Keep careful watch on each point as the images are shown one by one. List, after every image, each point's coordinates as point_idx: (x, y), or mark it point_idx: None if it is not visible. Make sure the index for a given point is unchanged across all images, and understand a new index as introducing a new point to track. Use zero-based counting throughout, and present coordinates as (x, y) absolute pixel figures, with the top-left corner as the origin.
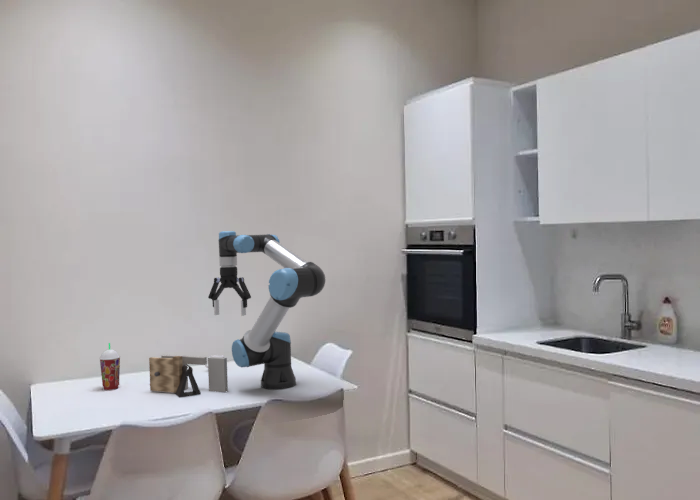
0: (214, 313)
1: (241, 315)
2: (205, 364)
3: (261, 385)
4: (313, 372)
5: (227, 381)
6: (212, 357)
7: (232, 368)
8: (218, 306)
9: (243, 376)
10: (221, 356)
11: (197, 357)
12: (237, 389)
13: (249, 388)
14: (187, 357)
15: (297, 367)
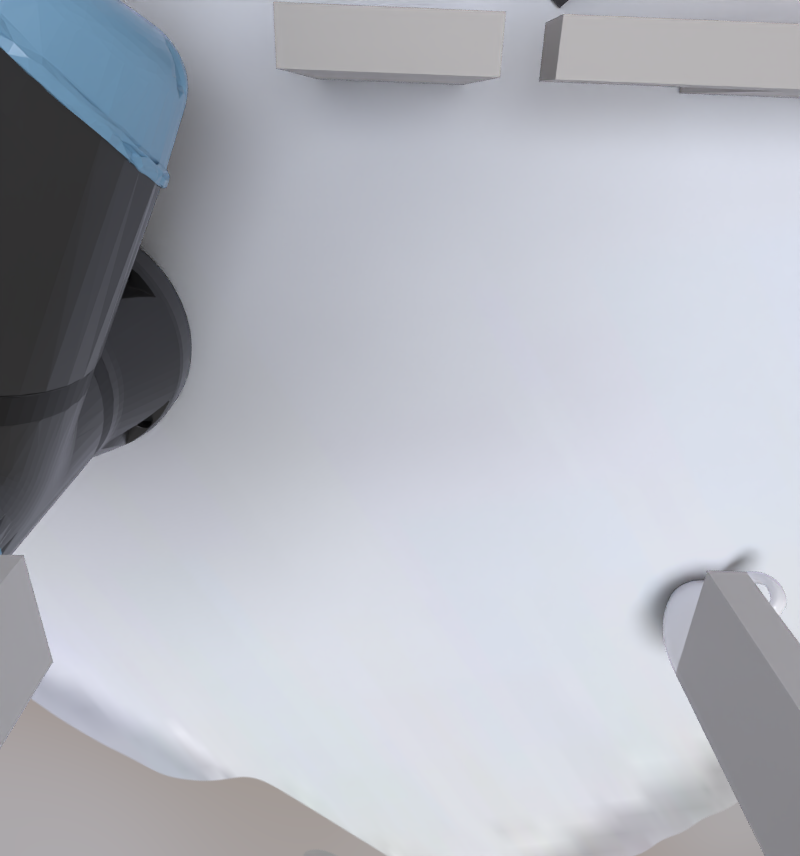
0: (761, 597)
1: (13, 557)
2: (769, 577)
3: (141, 254)
4: (84, 644)
5: (308, 76)
6: (464, 59)
7: (610, 645)
8: (768, 831)
9: (440, 492)
10: None
11: (656, 20)
12: (276, 149)
13: (208, 199)
14: (797, 24)
15: (245, 719)
